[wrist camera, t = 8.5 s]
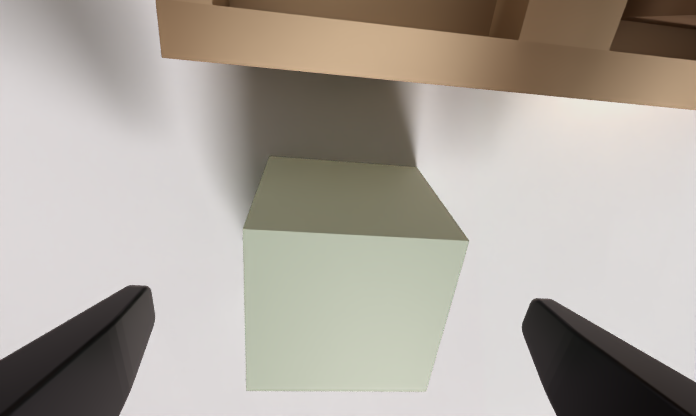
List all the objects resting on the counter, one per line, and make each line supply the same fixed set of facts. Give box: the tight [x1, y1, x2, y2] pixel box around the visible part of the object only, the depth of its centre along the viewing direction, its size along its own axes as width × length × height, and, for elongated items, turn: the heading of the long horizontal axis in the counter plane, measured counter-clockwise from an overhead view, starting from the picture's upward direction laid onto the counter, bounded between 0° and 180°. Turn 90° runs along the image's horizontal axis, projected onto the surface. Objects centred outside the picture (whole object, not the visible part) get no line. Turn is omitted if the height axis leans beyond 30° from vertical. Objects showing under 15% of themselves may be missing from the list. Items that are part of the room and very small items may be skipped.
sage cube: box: [243, 156, 469, 392], centre depth 10 cm, size 4×4×4 cm
